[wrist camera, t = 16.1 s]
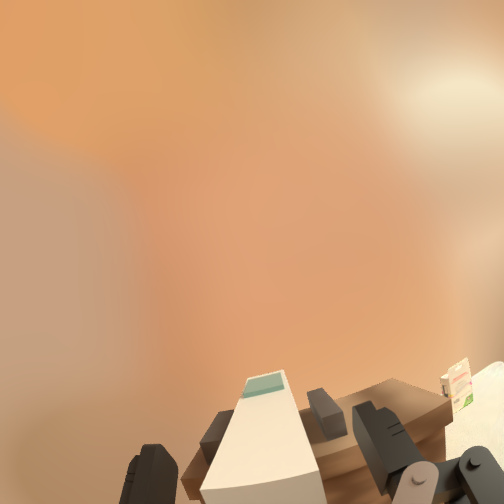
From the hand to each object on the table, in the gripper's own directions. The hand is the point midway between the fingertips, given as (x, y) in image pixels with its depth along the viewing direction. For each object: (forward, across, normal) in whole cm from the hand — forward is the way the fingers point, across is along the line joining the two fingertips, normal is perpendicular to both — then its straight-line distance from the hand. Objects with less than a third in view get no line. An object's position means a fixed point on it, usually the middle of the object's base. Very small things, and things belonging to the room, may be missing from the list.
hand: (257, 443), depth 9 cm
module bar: (+5, 0, +8) cm, 10 cm away
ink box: (+30, -48, +60) cm, 82 cm away
